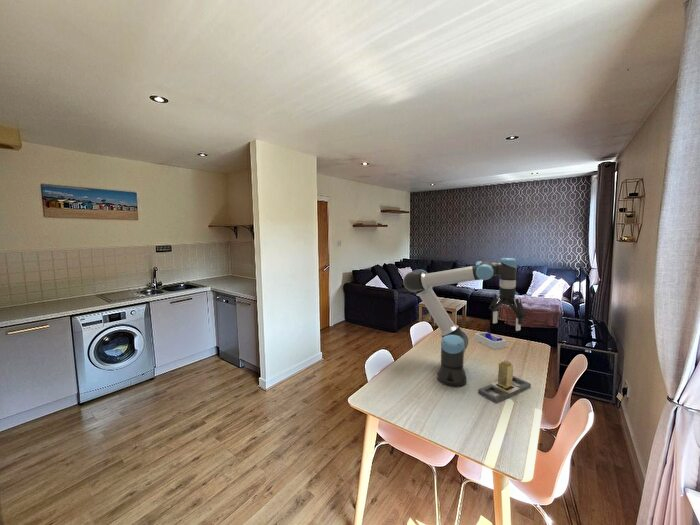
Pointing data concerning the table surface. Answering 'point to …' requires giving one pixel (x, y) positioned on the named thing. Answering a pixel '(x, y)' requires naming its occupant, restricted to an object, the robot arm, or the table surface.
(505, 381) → the brass peg
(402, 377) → the table surface
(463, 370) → the robot arm
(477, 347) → the table surface
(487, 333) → the blue arch block
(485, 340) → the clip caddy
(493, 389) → the grey peg hole board
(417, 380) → the table surface
